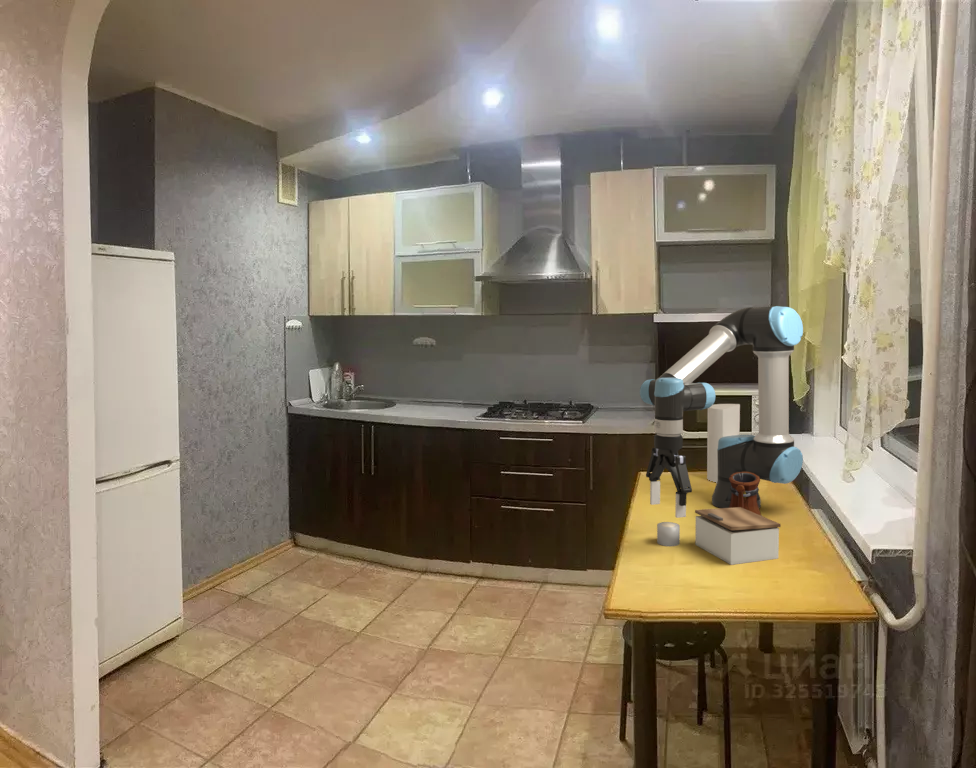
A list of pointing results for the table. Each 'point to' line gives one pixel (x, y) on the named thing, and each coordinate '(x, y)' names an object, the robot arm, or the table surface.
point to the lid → (737, 518)
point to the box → (737, 542)
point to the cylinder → (720, 432)
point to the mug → (744, 491)
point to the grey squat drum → (668, 534)
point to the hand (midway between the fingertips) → (667, 510)
